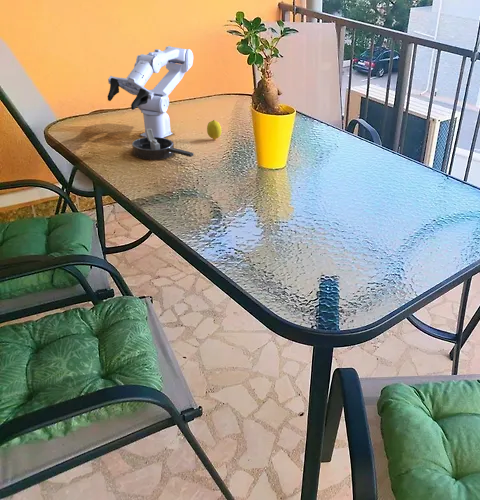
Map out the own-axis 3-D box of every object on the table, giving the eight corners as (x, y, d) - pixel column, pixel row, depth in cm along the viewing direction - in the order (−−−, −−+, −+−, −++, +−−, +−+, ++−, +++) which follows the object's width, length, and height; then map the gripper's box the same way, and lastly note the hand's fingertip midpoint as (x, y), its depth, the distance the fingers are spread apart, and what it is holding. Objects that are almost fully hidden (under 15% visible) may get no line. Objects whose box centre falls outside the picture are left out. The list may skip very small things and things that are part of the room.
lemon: (223, 138, 188) (223, 119, 184) (218, 143, 183) (218, 123, 179) (210, 136, 188) (209, 117, 184) (205, 140, 183) (204, 120, 179)
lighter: (160, 155, 165) (158, 133, 161) (155, 156, 164) (153, 134, 160) (152, 149, 169) (149, 127, 165) (147, 149, 168) (145, 128, 164)
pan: (150, 143, 174) (149, 134, 172) (181, 151, 171) (181, 142, 169) (124, 154, 163) (123, 144, 161) (157, 163, 160) (156, 153, 158)
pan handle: (171, 149, 165) (171, 147, 164) (193, 155, 163) (193, 152, 163) (168, 151, 163) (168, 148, 163) (190, 157, 162) (190, 154, 161)
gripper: (115, 60, 158) (97, 85, 150) (158, 78, 161) (142, 102, 153) (117, 77, 164) (99, 101, 156) (158, 93, 166) (142, 117, 159)
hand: (120, 103), depth 155 cm, fingers open, 7 cm apart
